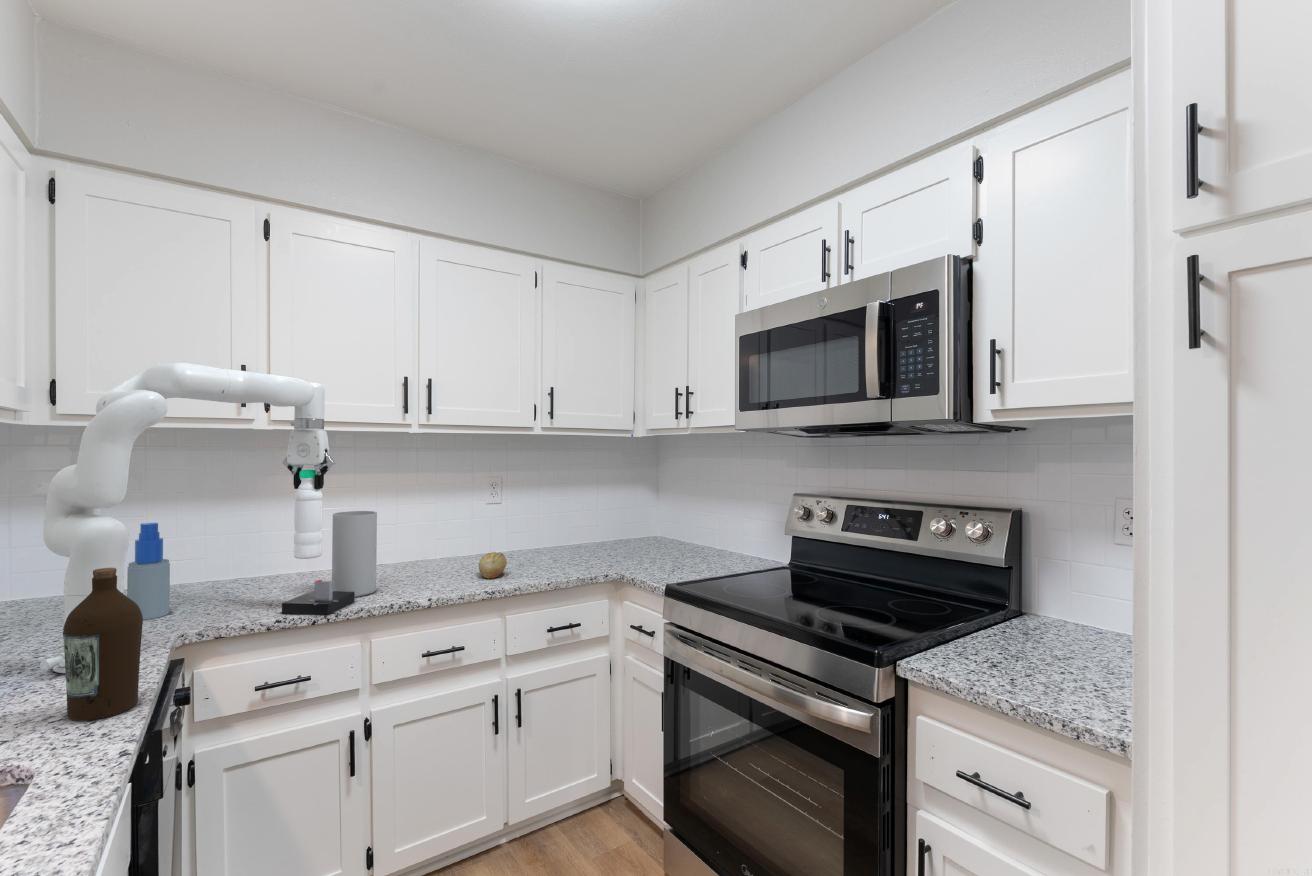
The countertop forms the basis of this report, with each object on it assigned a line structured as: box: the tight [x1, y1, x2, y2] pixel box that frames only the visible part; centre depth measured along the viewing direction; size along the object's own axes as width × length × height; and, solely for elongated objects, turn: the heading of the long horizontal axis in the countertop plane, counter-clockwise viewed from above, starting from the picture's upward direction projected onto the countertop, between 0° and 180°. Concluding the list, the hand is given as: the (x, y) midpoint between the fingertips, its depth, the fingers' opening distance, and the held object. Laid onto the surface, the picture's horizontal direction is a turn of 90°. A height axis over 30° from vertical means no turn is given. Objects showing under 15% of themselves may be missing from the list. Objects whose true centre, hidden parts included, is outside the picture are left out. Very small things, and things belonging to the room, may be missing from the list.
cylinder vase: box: [331, 510, 378, 598], centre depth 195 cm, size 12×12×25 cm
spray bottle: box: [126, 522, 171, 621], centre depth 169 cm, size 9×9×25 cm
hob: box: [281, 590, 356, 616], centre depth 178 cm, size 15×14×3 cm
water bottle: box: [293, 469, 324, 560], centre depth 179 cm, size 7×7×25 cm
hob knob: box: [314, 579, 333, 602], centre depth 174 cm, size 4×2×6 cm, turn 86°
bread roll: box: [478, 551, 508, 580], centre depth 223 cm, size 10×15×8 cm, turn 10°
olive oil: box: [62, 568, 144, 722], centre depth 111 cm, size 11×11×25 cm
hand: (308, 488), depth 179 cm, fingers closed on water bottle, 5 cm apart
